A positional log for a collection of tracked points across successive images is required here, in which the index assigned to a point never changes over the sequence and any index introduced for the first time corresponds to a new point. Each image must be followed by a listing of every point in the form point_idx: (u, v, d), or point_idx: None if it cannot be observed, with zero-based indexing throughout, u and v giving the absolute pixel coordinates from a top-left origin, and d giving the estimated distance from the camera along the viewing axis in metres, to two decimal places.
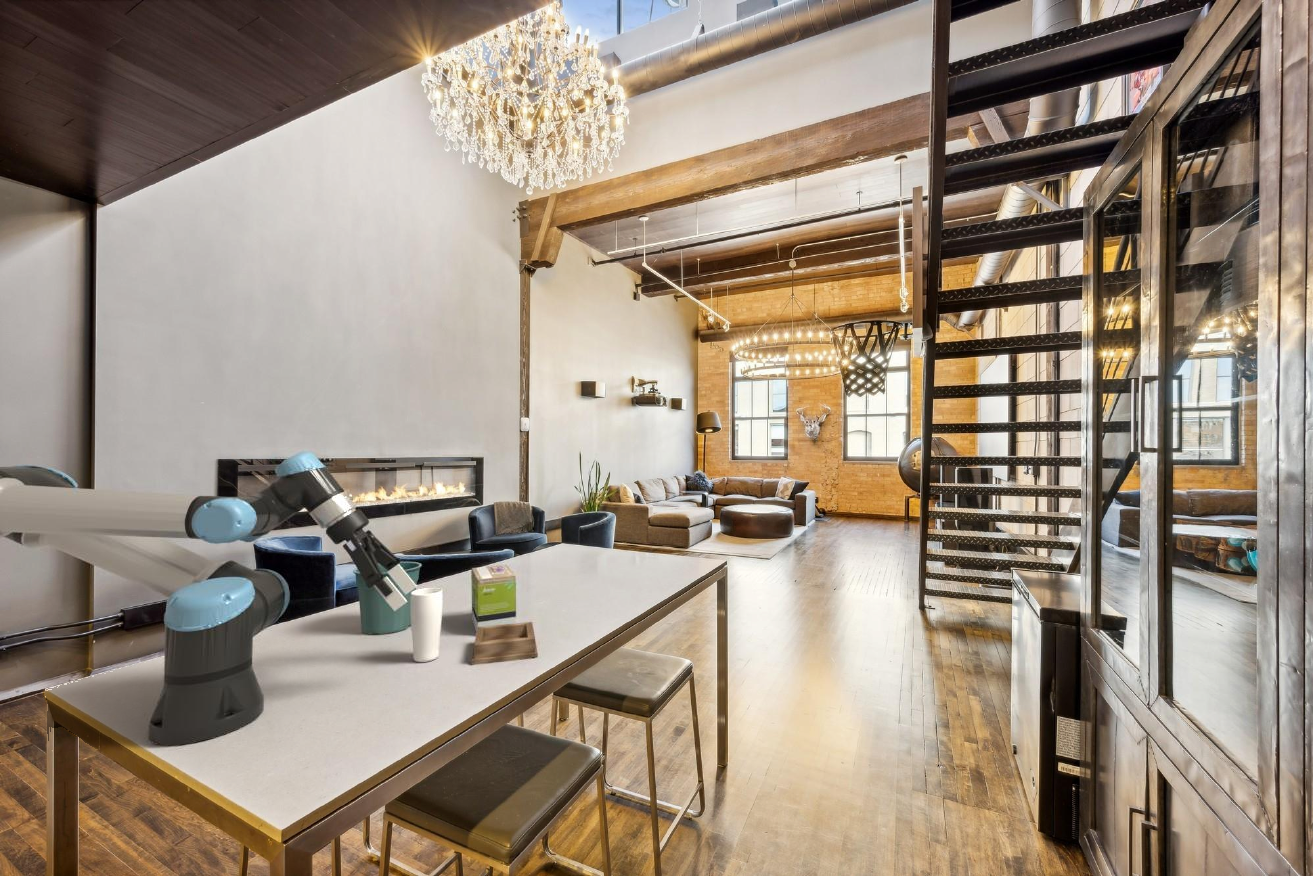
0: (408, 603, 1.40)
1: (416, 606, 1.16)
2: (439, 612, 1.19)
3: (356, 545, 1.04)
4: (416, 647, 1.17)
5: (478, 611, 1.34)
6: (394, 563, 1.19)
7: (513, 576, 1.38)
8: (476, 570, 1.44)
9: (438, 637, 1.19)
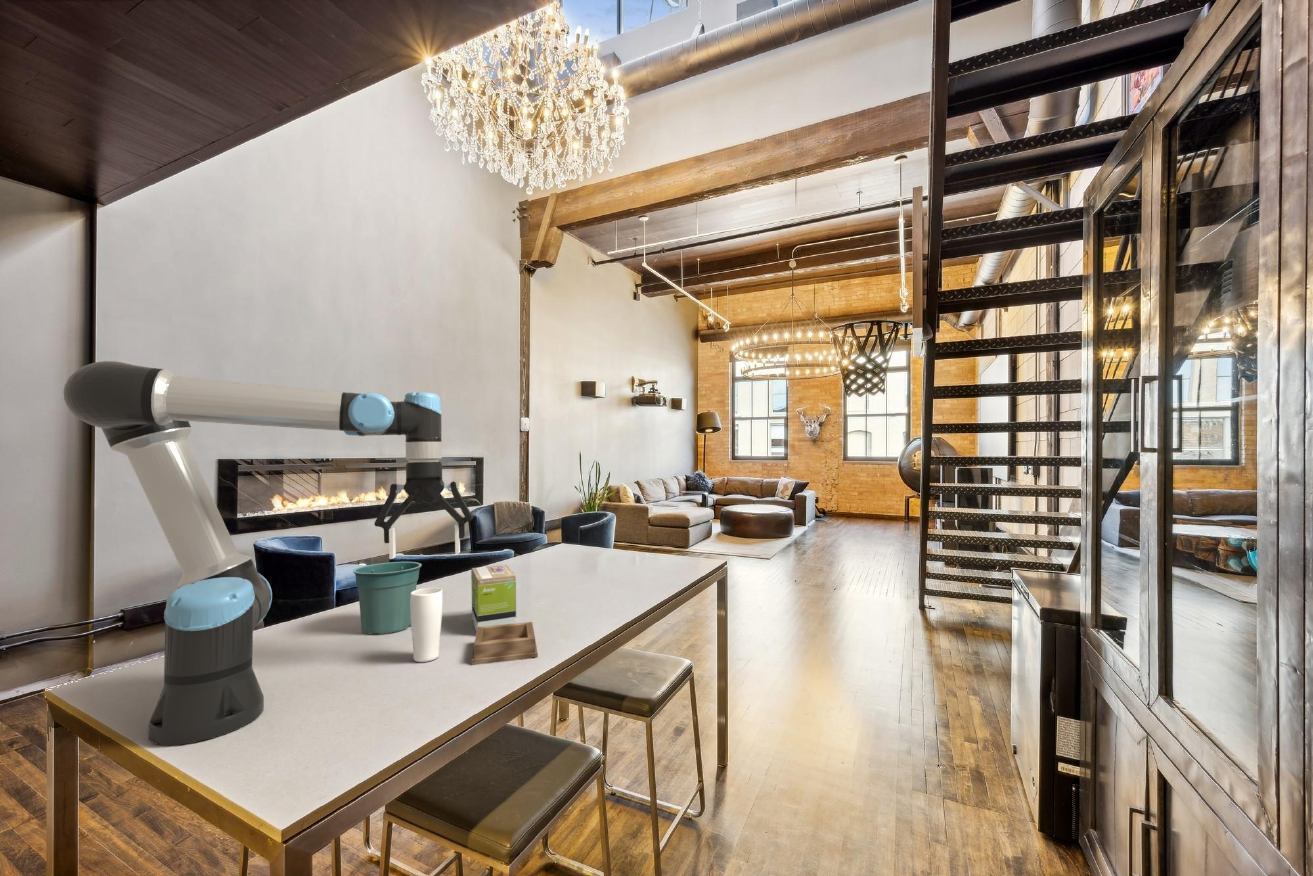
0: (408, 603, 1.40)
1: (416, 606, 1.16)
2: (439, 612, 1.19)
3: (457, 487, 1.23)
4: (416, 647, 1.17)
5: (478, 611, 1.34)
6: (391, 525, 1.19)
7: (513, 576, 1.38)
8: (476, 570, 1.44)
9: (438, 637, 1.19)
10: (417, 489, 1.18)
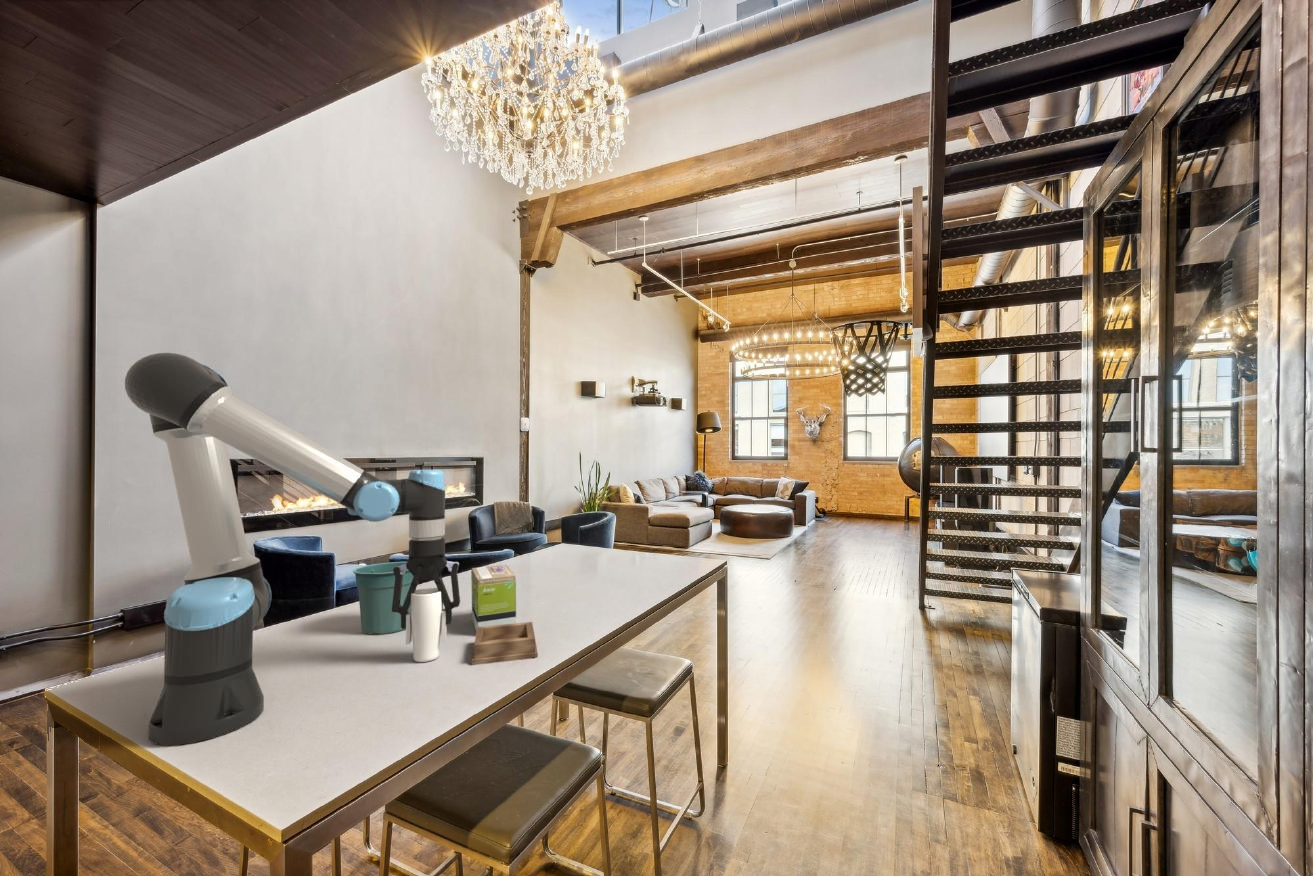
0: None
1: (416, 606, 1.16)
2: (439, 612, 1.19)
3: None
4: (416, 647, 1.17)
5: (478, 611, 1.34)
6: None
7: (513, 576, 1.38)
8: (476, 570, 1.44)
9: (438, 637, 1.19)
10: (419, 567, 1.18)
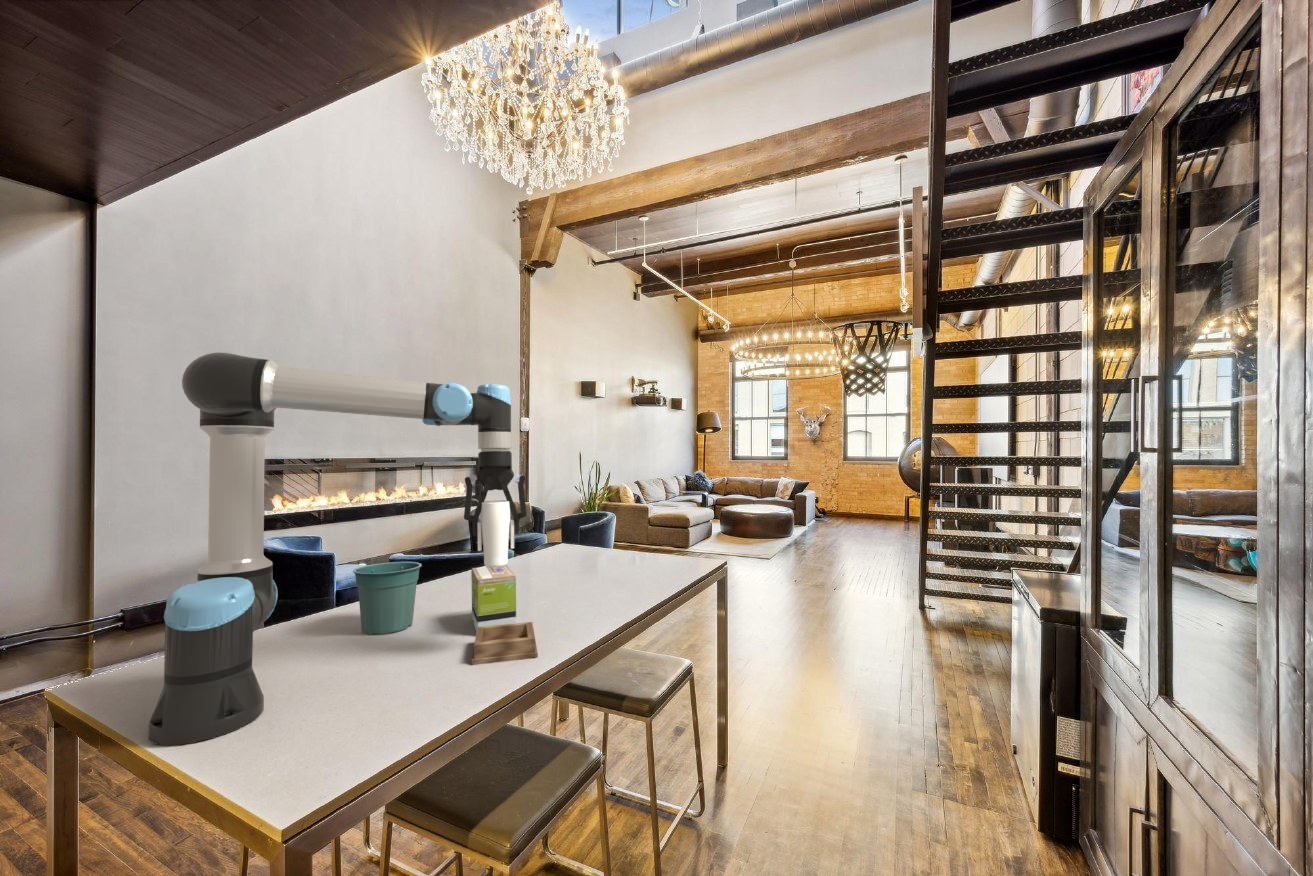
0: (408, 603, 1.40)
1: (487, 513, 1.21)
2: (508, 521, 1.24)
3: None
4: (487, 553, 1.22)
5: (478, 611, 1.34)
6: None
7: (513, 576, 1.38)
8: (476, 570, 1.44)
9: (507, 545, 1.24)
10: (489, 477, 1.23)
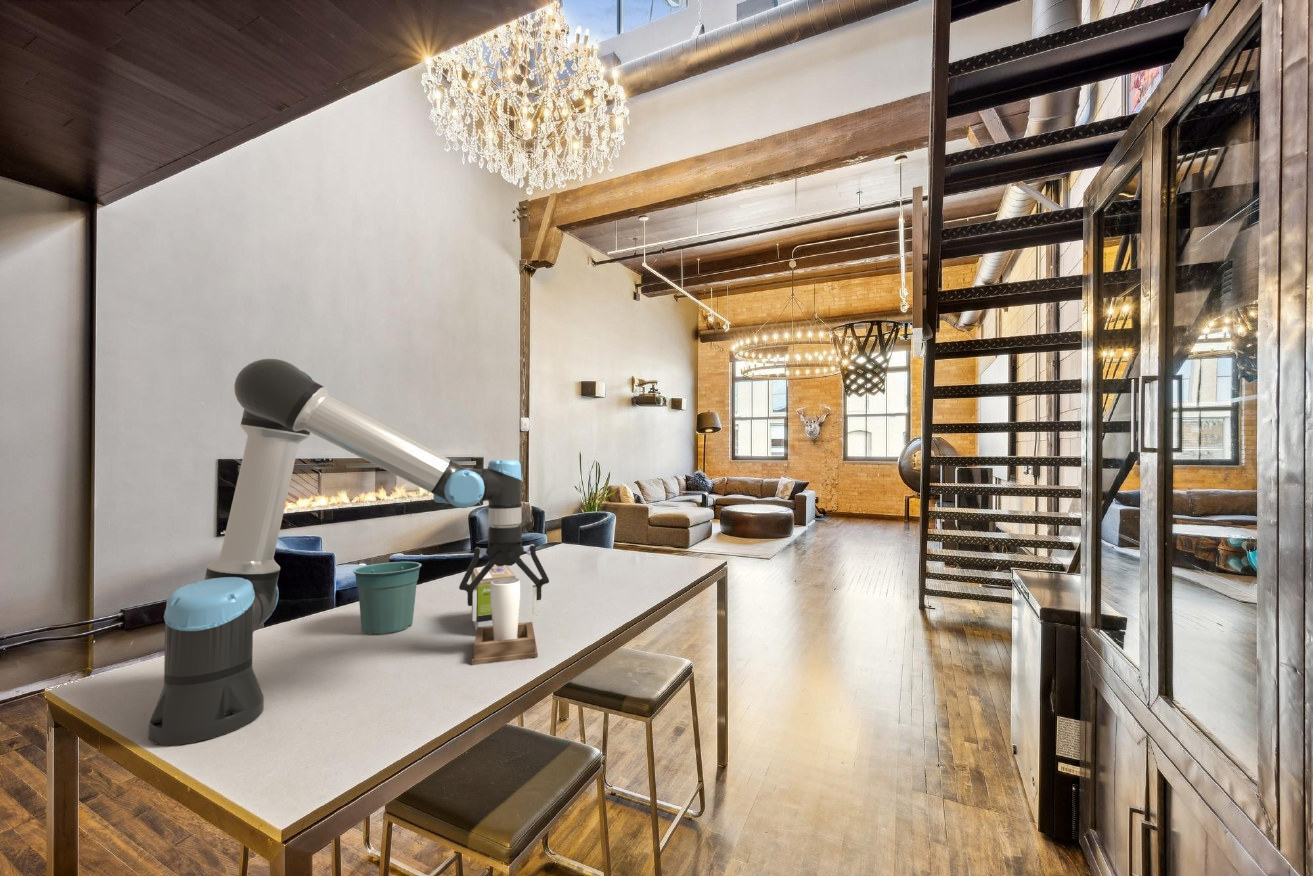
0: (408, 603, 1.40)
1: (497, 595, 1.21)
2: (518, 601, 1.23)
3: None
4: (497, 634, 1.22)
5: (478, 611, 1.34)
6: None
7: (513, 576, 1.38)
8: (476, 570, 1.44)
9: (517, 625, 1.24)
10: (499, 553, 1.23)
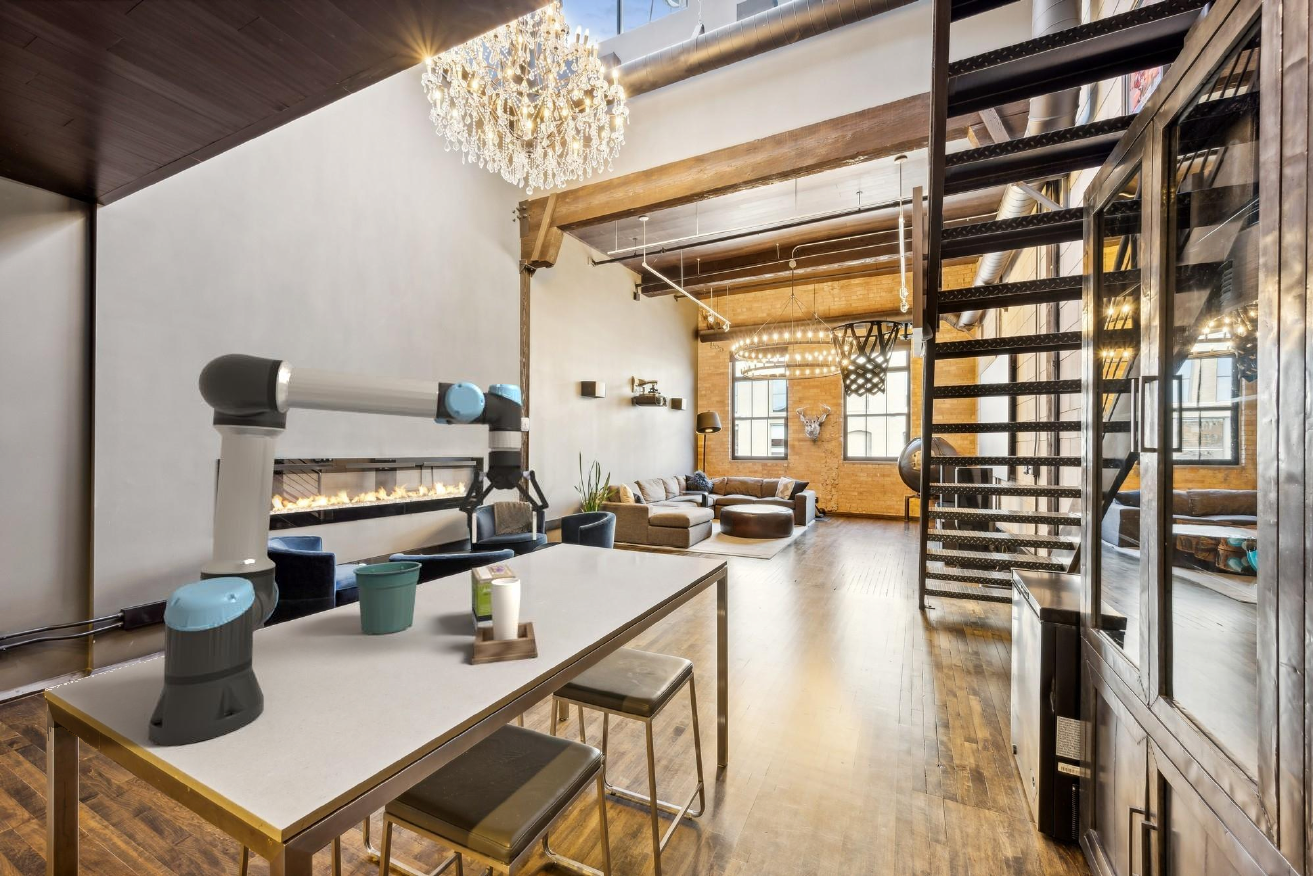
0: (408, 603, 1.40)
1: (497, 595, 1.21)
2: (518, 601, 1.24)
3: None
4: (497, 634, 1.22)
5: (478, 611, 1.34)
6: None
7: (513, 576, 1.38)
8: (476, 570, 1.44)
9: (517, 625, 1.24)
10: (499, 476, 1.23)
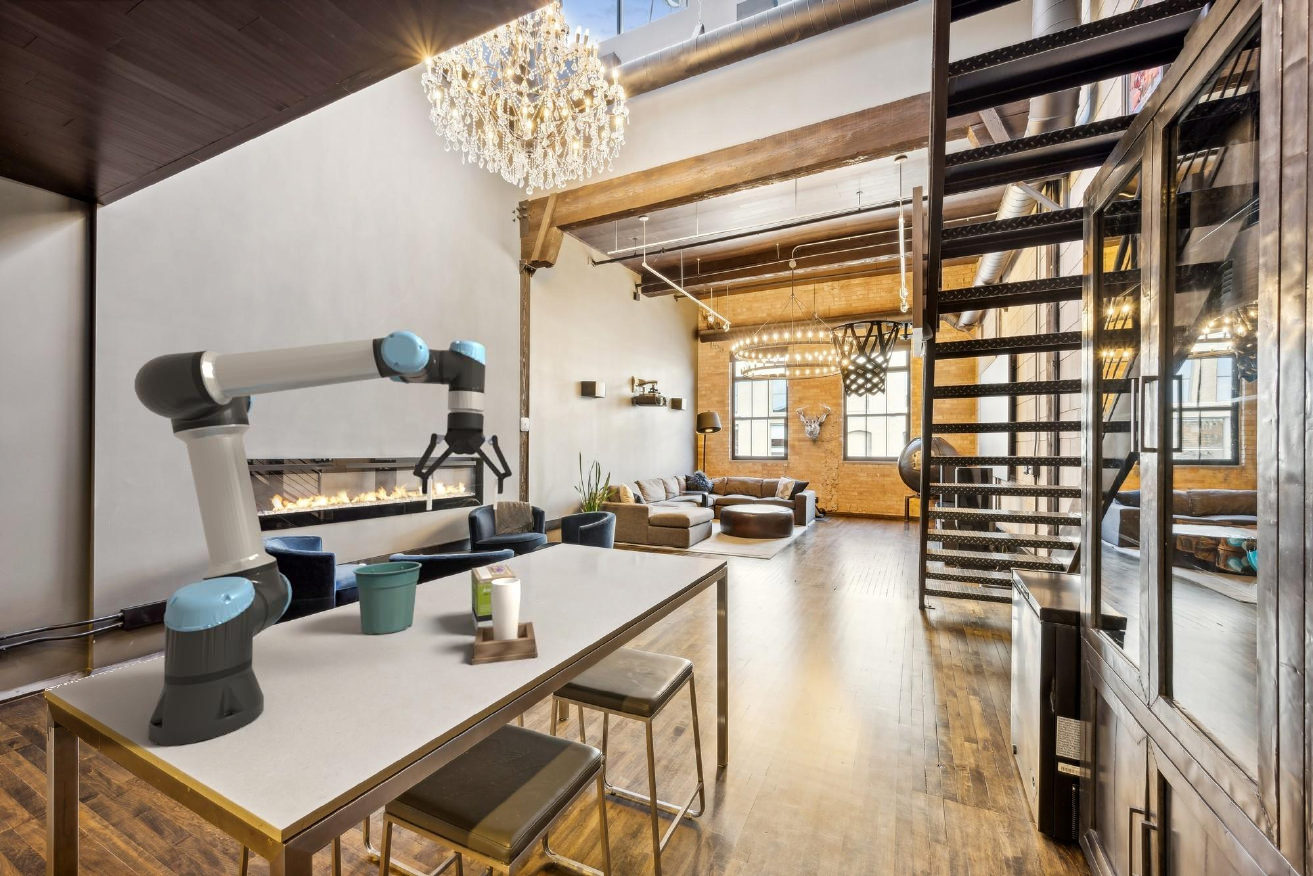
0: (408, 603, 1.40)
1: (498, 595, 1.21)
2: (518, 601, 1.24)
3: None
4: (497, 634, 1.22)
5: (478, 611, 1.34)
6: (429, 476, 1.15)
7: (513, 576, 1.38)
8: (476, 570, 1.44)
9: (517, 625, 1.24)
10: (458, 440, 1.14)
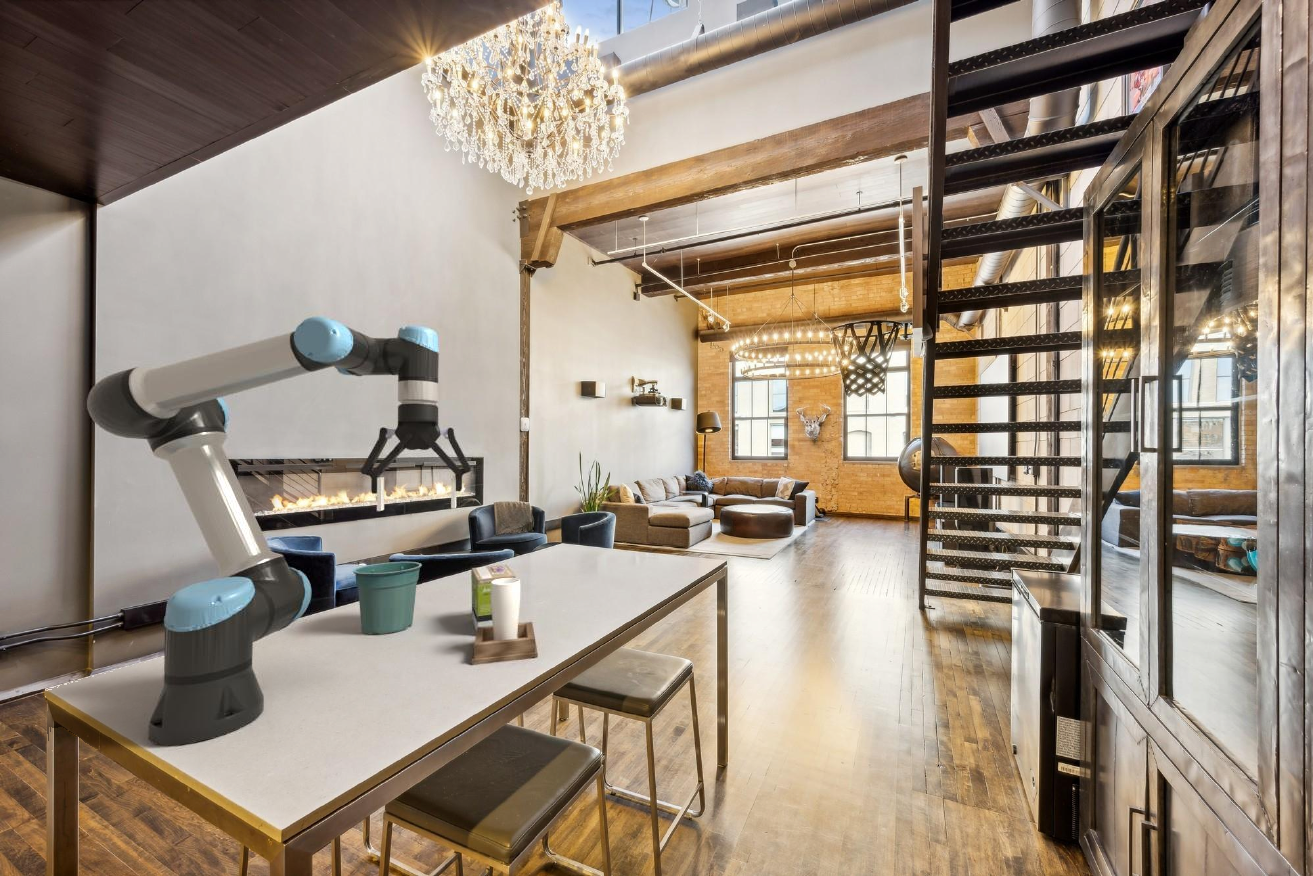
0: (408, 603, 1.40)
1: (497, 595, 1.21)
2: (518, 601, 1.24)
3: None
4: (497, 634, 1.22)
5: (478, 611, 1.34)
6: (380, 474, 1.06)
7: (513, 576, 1.38)
8: (476, 570, 1.44)
9: (517, 625, 1.24)
10: (410, 434, 1.05)
